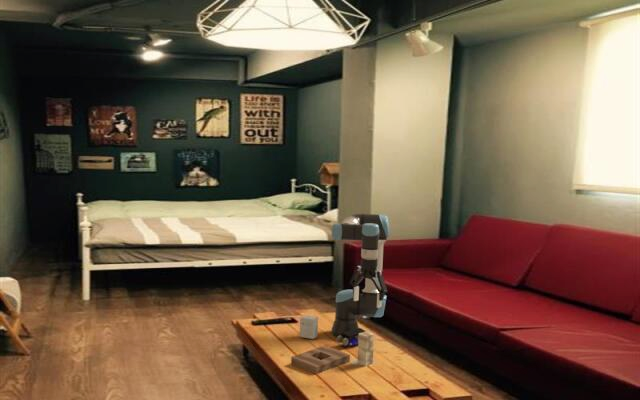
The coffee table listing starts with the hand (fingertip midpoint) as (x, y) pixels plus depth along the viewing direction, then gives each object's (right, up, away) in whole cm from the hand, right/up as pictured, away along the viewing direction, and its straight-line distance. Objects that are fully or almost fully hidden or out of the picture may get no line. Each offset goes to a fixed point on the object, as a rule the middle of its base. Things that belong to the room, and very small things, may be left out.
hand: (367, 303), depth 263 cm
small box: (-27, -24, +38) cm, 53 cm away
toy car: (-12, -24, +22) cm, 35 cm away
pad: (-1, -29, +3) cm, 29 cm away
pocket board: (-21, -28, +2) cm, 35 cm away
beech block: (-1, -28, +3) cm, 28 cm away
